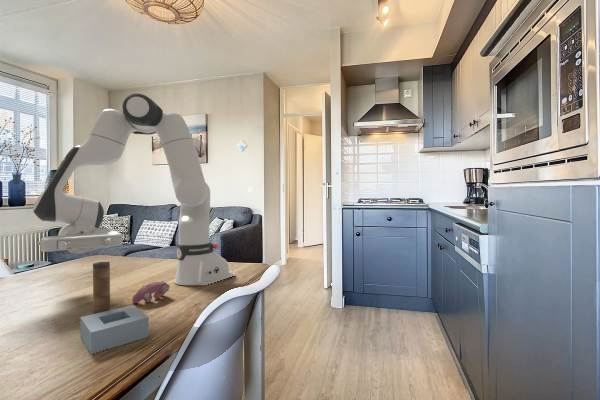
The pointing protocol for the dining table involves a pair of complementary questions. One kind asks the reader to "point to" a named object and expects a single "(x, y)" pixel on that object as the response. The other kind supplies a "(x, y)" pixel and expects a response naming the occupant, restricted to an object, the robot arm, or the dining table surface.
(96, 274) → the walnut dowel
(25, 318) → the dining table surface
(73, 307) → the dining table surface
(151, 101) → the robot arm
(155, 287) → the video game controller
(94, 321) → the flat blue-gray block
